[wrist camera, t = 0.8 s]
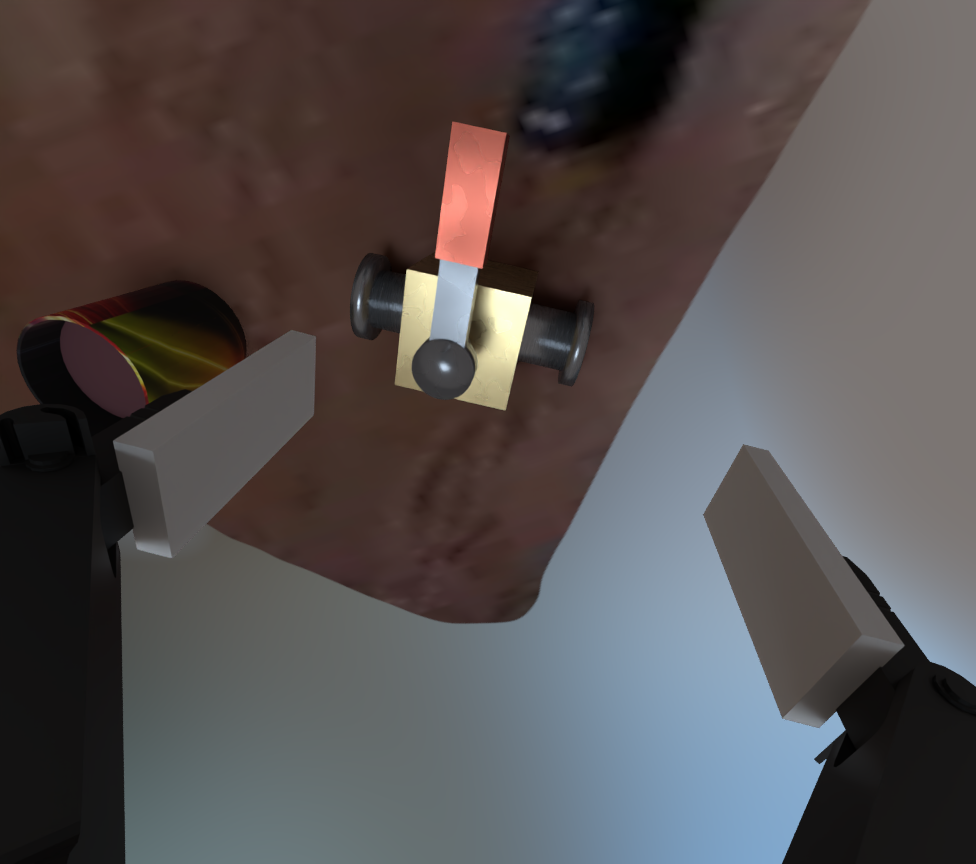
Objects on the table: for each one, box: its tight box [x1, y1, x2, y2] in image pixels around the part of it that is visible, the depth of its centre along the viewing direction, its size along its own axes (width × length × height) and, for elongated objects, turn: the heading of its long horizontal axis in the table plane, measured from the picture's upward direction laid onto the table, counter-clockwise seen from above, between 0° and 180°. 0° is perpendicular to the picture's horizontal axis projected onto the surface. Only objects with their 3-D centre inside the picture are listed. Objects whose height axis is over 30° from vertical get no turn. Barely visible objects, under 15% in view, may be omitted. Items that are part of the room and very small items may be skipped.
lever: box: [412, 121, 510, 400], centre depth 27 cm, size 14×4×5 cm, turn 169°
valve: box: [350, 252, 594, 410], centre depth 36 cm, size 17×8×9 cm, turn 79°
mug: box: [17, 281, 246, 437], centre depth 40 cm, size 10×14×12 cm
